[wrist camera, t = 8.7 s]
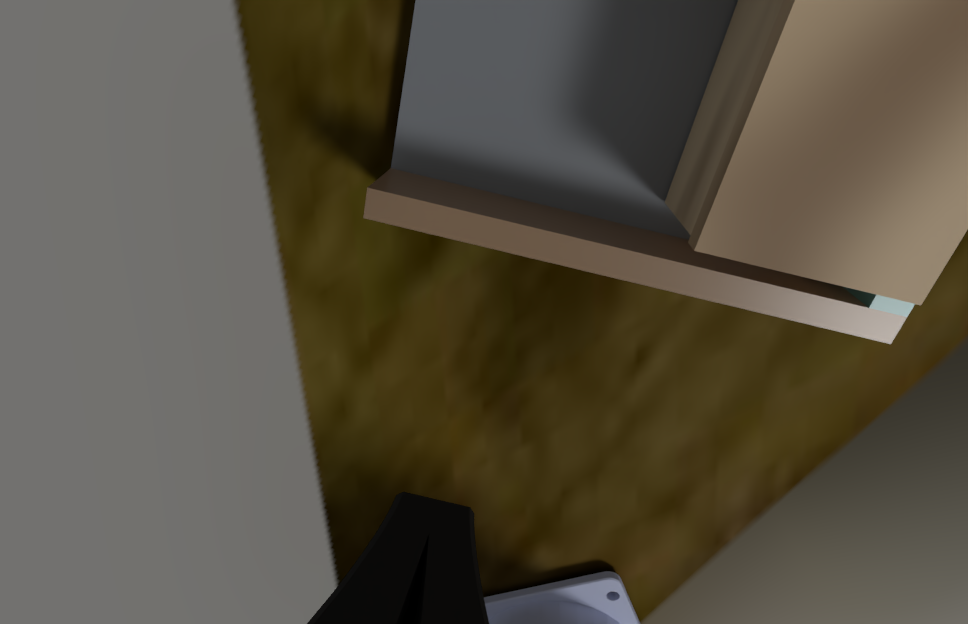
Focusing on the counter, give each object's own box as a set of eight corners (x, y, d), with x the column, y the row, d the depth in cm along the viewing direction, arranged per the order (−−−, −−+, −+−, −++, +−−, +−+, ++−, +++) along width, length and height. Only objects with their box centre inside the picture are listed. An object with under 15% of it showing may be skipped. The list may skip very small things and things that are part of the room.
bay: (1016, -37, 14) (1133, -56, 11) (836, 297, 18) (890, 344, 15) (446, -179, 14) (423, -235, 11) (390, 190, 17) (363, 218, 15)
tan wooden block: (951, 25, 14) (1096, 18, 10) (837, 247, 16) (920, 305, 13) (743, -27, 14) (815, -52, 10) (659, 205, 16) (694, 250, 13)
